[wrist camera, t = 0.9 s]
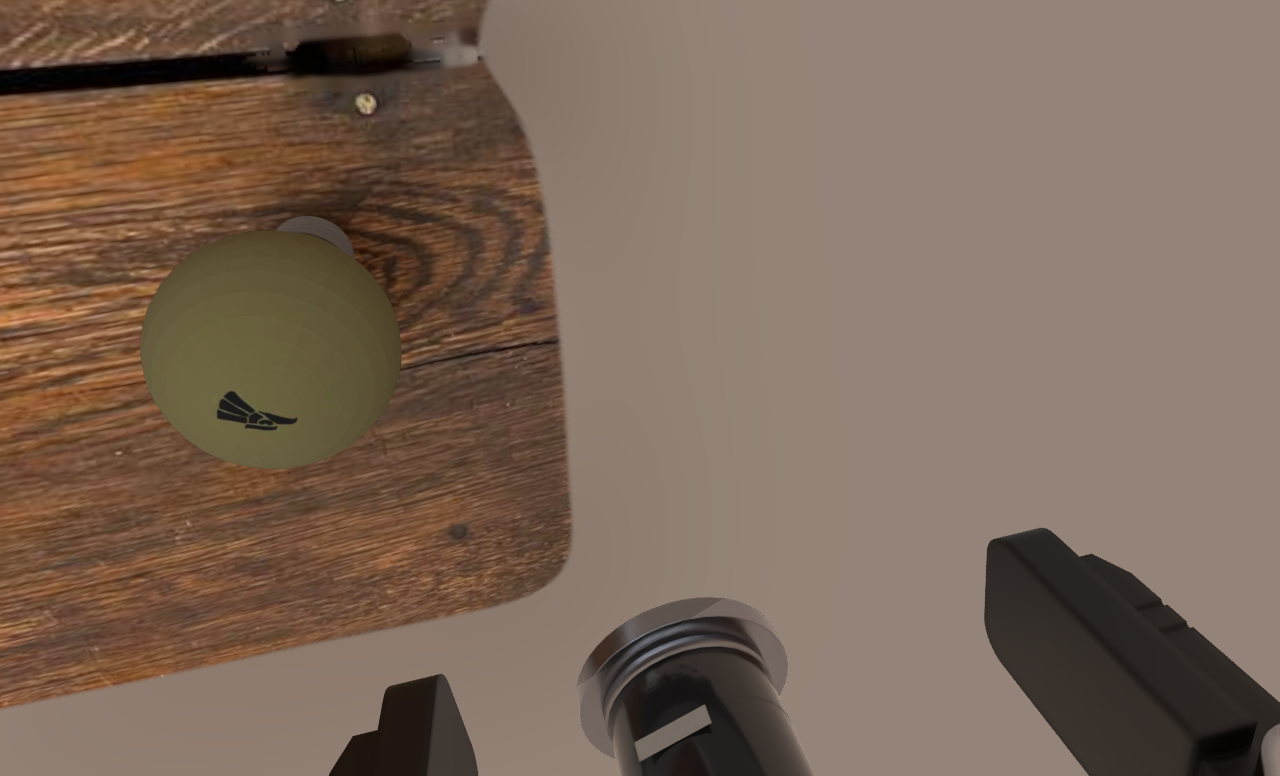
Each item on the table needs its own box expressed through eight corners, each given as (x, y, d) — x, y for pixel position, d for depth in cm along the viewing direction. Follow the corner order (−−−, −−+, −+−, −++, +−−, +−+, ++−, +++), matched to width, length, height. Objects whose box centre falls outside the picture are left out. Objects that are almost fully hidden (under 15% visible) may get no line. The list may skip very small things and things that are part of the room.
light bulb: (229, 327, 25) (134, 528, 17) (200, 153, 22) (68, 288, 14) (409, 326, 27) (404, 510, 18) (402, 161, 24) (392, 290, 16)
